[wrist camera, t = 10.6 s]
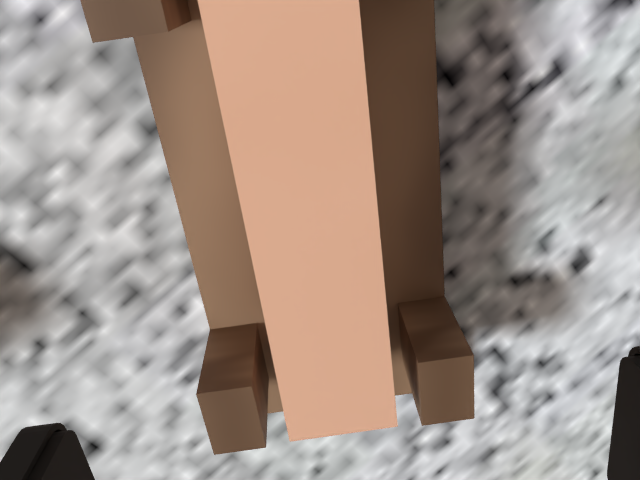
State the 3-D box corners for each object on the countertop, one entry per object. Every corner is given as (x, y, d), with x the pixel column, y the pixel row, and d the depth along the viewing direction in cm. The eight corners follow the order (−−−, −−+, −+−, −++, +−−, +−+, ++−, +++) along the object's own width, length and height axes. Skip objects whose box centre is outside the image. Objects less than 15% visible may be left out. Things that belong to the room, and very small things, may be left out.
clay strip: (337, -58, 17) (352, -68, 13) (378, 351, 24) (397, 426, 20) (211, -40, 17) (188, -44, 13) (289, 363, 24) (289, 441, 20)
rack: (415, -190, 17) (468, -258, 12) (439, 367, 27) (474, 456, 22) (98, -144, 17) (23, -192, 12) (235, 395, 27) (225, 490, 22)
